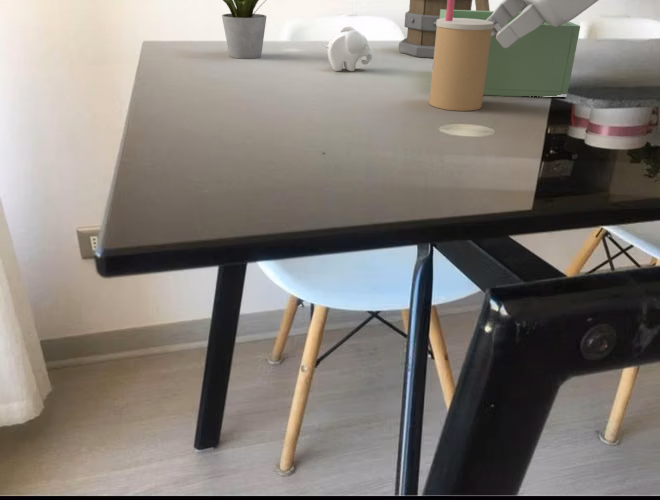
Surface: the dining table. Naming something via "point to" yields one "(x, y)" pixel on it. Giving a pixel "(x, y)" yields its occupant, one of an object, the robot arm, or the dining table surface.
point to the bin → (529, 59)
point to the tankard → (429, 24)
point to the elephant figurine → (347, 49)
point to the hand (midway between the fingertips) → (491, 37)
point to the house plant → (244, 29)
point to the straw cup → (460, 62)
